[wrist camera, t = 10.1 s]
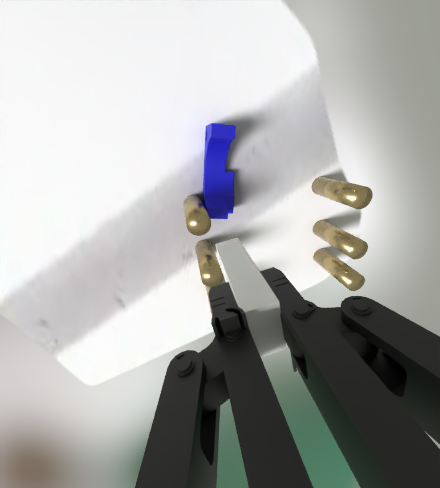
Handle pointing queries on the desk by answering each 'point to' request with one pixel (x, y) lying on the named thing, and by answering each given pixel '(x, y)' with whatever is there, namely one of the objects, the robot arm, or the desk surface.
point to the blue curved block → (218, 171)
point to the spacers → (333, 235)
